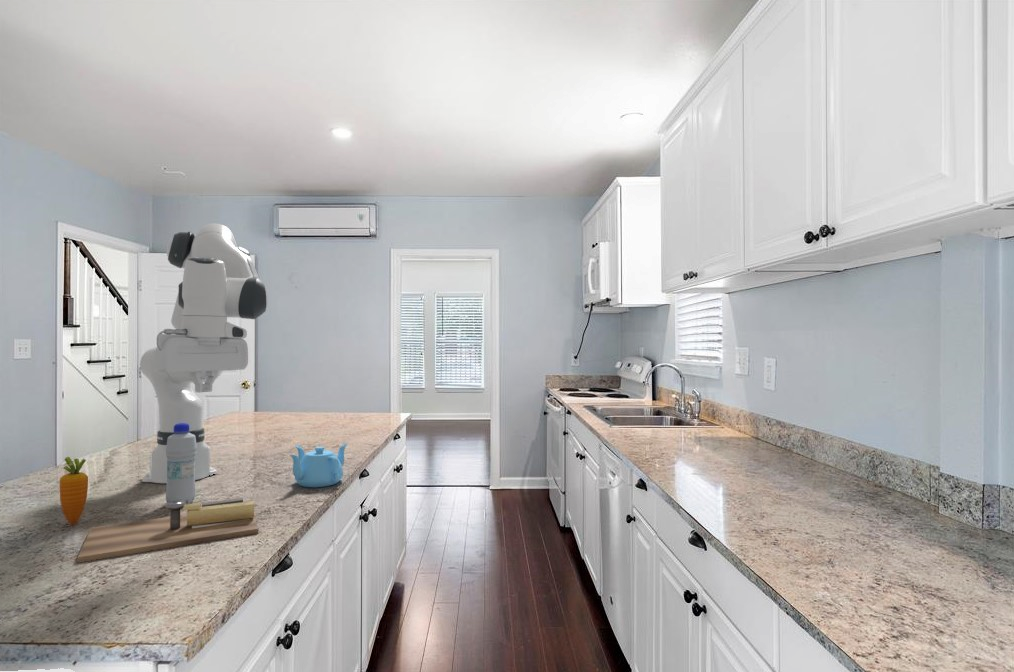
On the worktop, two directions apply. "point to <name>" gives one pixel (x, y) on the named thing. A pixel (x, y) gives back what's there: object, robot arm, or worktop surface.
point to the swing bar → (213, 511)
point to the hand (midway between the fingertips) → (203, 391)
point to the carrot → (73, 491)
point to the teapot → (318, 467)
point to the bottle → (181, 464)
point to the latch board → (160, 534)
